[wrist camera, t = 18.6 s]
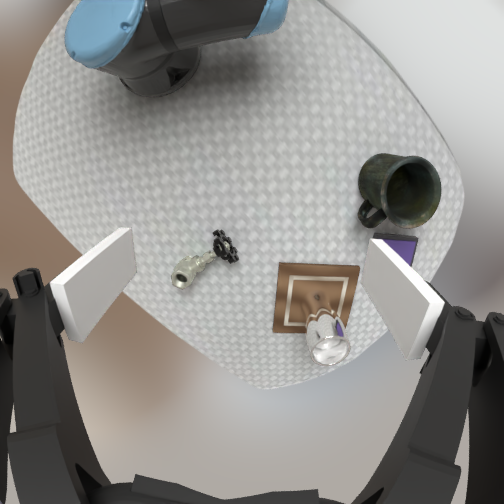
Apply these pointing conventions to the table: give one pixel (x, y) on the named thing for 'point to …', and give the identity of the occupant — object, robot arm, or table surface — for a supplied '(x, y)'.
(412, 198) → the mug
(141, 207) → the table surface
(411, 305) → the robot arm
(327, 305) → the beer glass
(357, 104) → the table surface
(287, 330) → the board
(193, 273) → the valve
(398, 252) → the ink pad
